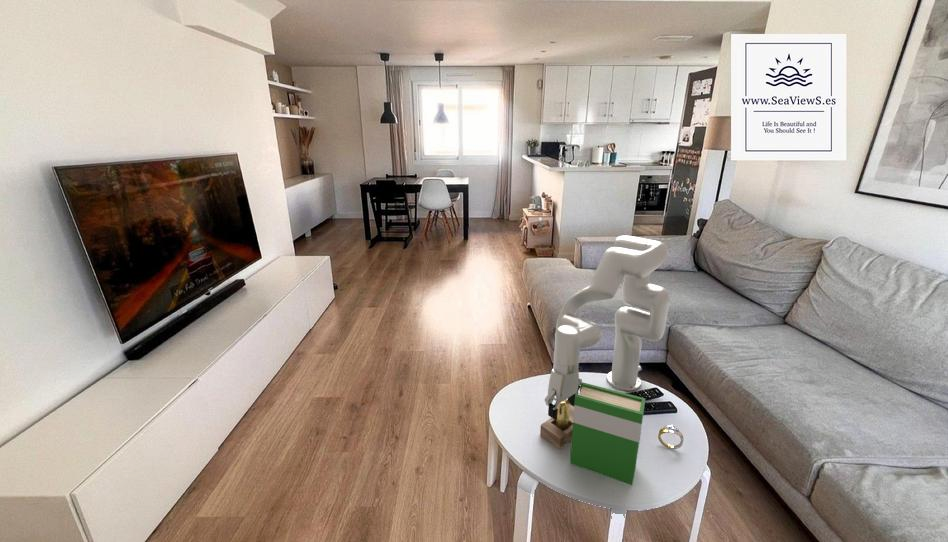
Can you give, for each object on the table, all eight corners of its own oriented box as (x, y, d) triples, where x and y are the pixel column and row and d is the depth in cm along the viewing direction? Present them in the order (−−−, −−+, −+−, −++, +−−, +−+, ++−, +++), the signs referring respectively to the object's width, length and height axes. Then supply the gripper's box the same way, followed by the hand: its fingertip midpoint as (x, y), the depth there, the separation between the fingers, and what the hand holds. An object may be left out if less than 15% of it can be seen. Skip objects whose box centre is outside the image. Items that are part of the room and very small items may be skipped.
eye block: (570, 413, 140) (571, 404, 139) (589, 425, 134) (590, 415, 133) (540, 434, 130) (540, 425, 129) (559, 448, 124) (560, 438, 123)
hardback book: (569, 463, 119) (575, 396, 111) (575, 446, 125) (581, 381, 117) (632, 485, 111) (642, 414, 103) (635, 466, 117) (645, 398, 110)
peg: (560, 427, 134) (562, 397, 130) (570, 433, 131) (572, 403, 127) (552, 432, 131) (554, 402, 127) (562, 439, 128) (564, 408, 124)
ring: (681, 448, 123) (686, 428, 121) (680, 455, 121) (684, 434, 118) (657, 440, 127) (661, 419, 124) (655, 446, 125) (659, 425, 122)
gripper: (573, 350, 130) (569, 394, 136) (537, 369, 120) (535, 416, 125) (592, 359, 125) (588, 405, 130) (557, 380, 114) (554, 429, 120)
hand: (562, 410), depth 128 cm, fingers open, 9 cm apart
